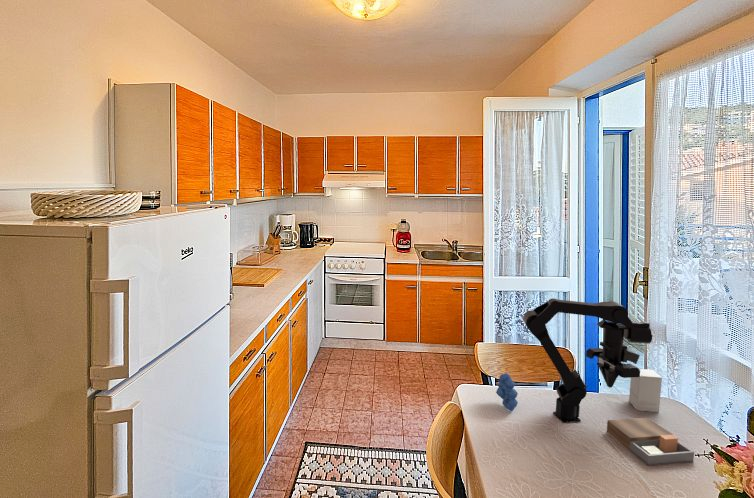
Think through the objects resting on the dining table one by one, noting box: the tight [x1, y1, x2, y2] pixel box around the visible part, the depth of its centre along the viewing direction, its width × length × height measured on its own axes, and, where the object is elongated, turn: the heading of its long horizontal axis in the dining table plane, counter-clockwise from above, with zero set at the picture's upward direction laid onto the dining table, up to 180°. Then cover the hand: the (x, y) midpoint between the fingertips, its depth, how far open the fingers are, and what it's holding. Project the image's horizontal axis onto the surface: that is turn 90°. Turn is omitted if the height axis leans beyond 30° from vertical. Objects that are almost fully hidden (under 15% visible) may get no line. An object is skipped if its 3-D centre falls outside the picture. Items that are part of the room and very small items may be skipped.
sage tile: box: [641, 446, 663, 454], centre depth 120 cm, size 4×4×2 cm
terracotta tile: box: [659, 434, 679, 452], centre depth 123 cm, size 4×4×2 cm
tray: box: [628, 439, 695, 467], centre depth 121 cm, size 14×7×3 cm, turn 98°
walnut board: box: [606, 417, 674, 451], centre depth 130 cm, size 14×10×4 cm
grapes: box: [495, 372, 519, 412], centre depth 149 cm, size 12×7×12 cm, turn 9°
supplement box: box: [628, 368, 663, 413], centre depth 150 cm, size 7×7×13 cm
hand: (609, 387), depth 139 cm, fingers closed
